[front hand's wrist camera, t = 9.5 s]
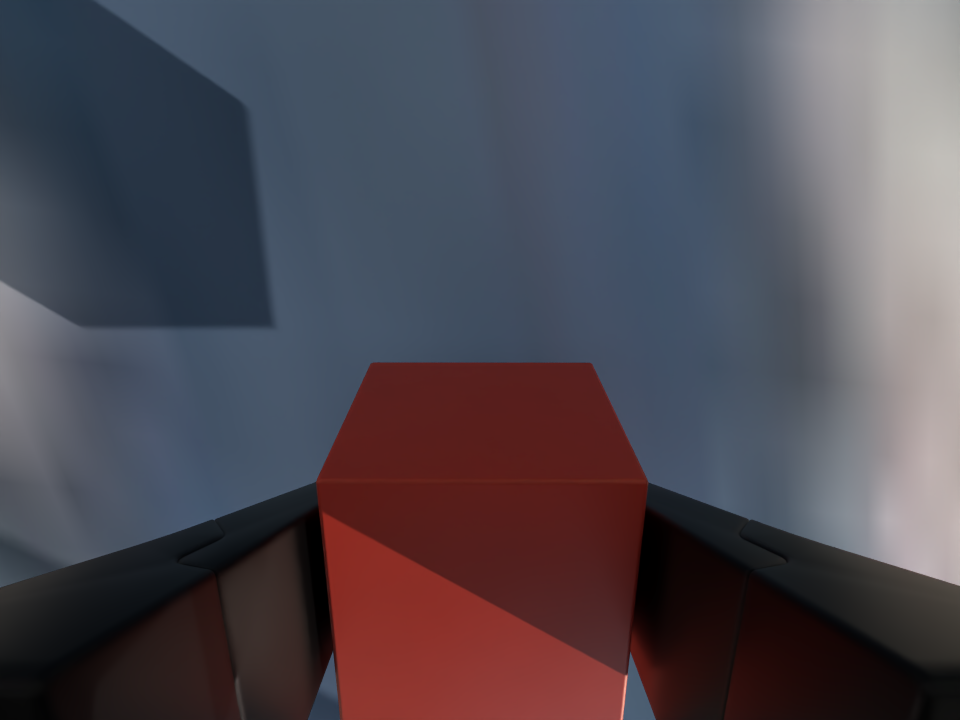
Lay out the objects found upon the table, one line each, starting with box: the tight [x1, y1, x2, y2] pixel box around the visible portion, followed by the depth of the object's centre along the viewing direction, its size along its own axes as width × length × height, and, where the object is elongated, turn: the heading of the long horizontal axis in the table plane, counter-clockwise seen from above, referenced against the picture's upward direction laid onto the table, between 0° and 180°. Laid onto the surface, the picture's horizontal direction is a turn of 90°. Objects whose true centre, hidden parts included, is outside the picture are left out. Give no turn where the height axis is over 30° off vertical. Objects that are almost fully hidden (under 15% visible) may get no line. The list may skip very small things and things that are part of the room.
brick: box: [316, 363, 648, 720], centre depth 10 cm, size 4×4×4 cm
